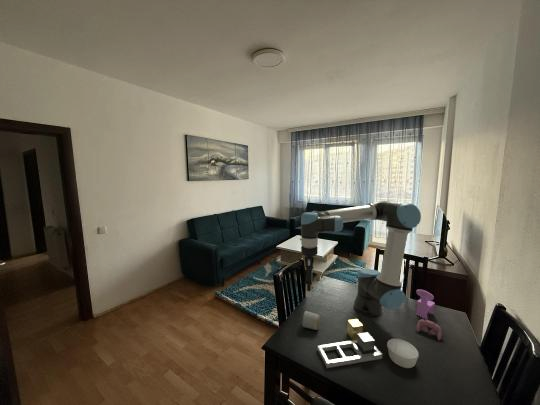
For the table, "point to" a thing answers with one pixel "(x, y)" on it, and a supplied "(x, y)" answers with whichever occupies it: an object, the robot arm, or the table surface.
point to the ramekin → (402, 353)
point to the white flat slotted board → (344, 359)
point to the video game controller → (434, 326)
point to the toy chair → (424, 303)
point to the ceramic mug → (311, 320)
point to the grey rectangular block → (365, 343)
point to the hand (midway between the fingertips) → (309, 289)
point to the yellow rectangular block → (354, 328)
